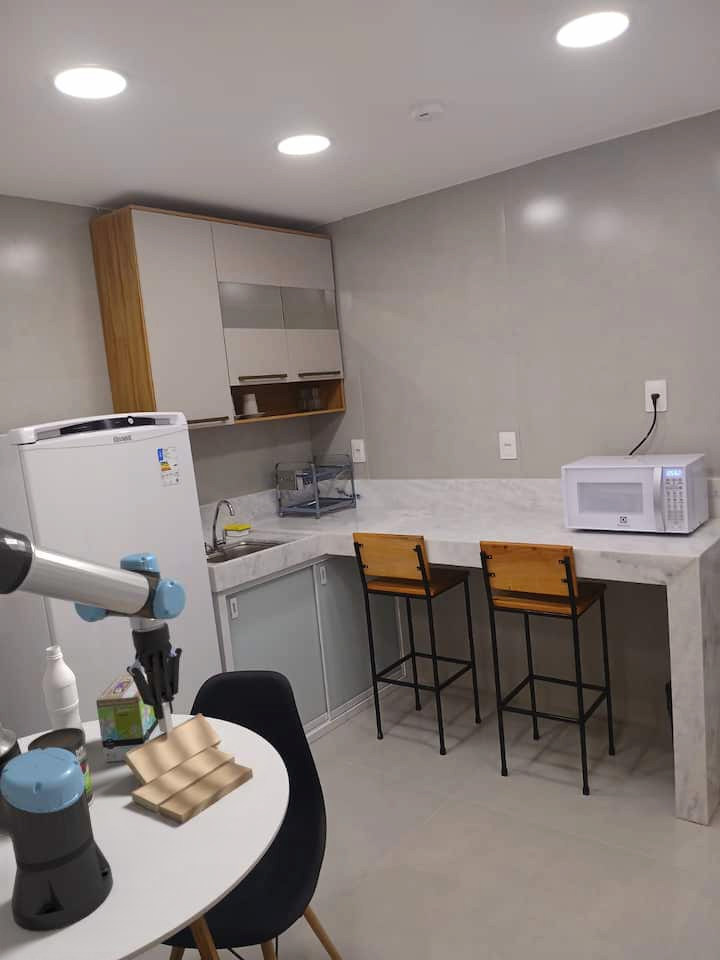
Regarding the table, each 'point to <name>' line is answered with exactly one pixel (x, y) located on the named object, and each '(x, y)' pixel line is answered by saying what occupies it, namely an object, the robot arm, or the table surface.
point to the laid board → (205, 792)
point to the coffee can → (71, 742)
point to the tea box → (124, 719)
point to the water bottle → (61, 692)
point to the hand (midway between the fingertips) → (166, 730)
